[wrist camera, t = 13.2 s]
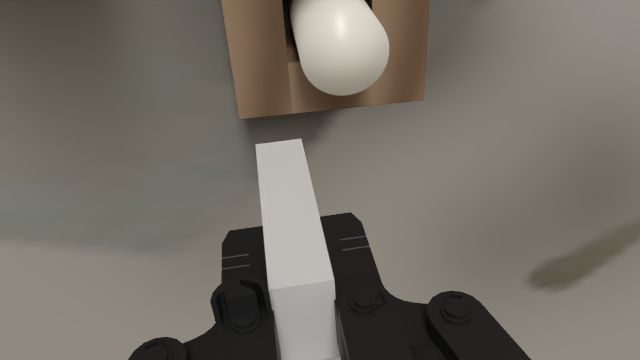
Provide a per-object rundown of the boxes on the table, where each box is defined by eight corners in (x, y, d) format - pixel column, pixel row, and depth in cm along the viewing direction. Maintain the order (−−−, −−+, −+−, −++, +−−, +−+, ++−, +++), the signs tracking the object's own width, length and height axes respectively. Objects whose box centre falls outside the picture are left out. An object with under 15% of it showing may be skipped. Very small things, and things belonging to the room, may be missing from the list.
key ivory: (290, 41, 35) (303, 99, 27) (284, -31, 32) (296, 12, 25) (357, 34, 35) (388, 91, 28) (356, -37, 33) (390, 4, 25)
